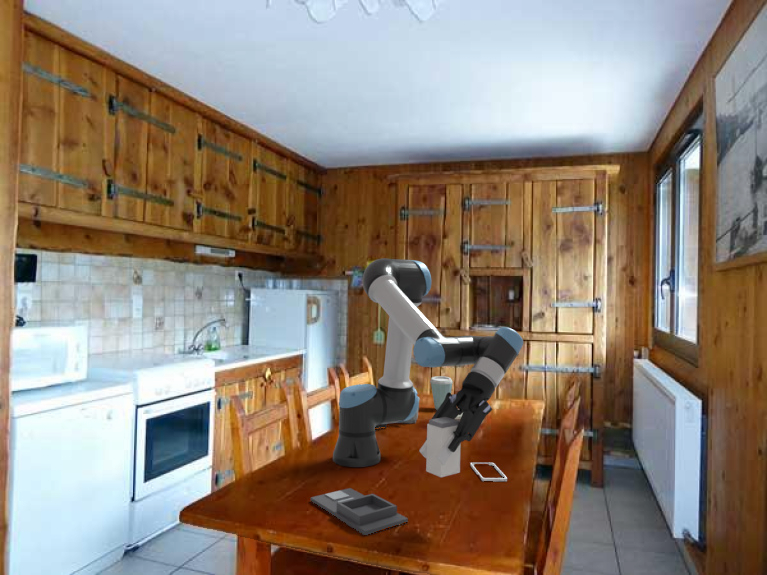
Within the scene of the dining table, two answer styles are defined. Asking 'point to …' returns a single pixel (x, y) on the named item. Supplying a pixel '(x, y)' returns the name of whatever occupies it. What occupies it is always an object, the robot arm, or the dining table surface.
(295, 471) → the dining table surface
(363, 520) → the grey socket base plate
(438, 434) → the plug
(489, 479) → the silver rectangular frame
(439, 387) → the disposable coffee cup
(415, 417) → the electrical outlet
